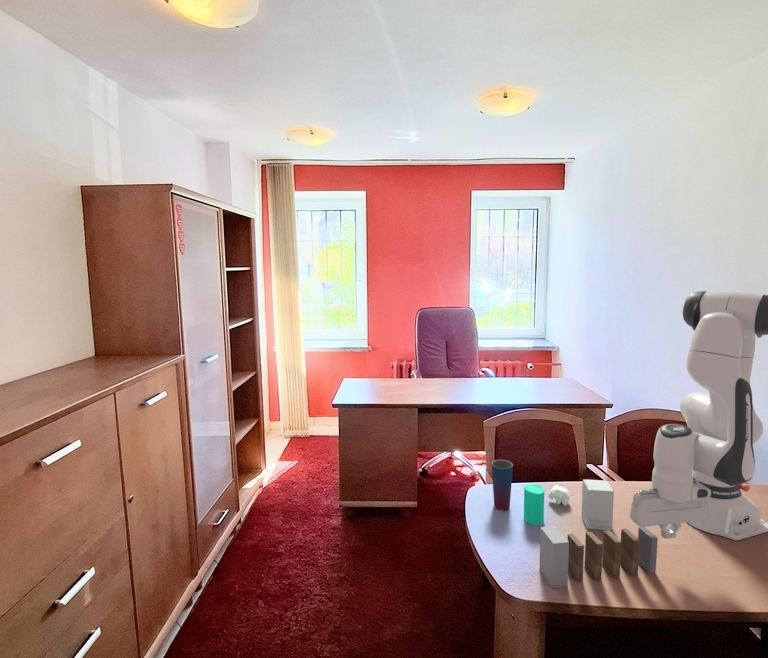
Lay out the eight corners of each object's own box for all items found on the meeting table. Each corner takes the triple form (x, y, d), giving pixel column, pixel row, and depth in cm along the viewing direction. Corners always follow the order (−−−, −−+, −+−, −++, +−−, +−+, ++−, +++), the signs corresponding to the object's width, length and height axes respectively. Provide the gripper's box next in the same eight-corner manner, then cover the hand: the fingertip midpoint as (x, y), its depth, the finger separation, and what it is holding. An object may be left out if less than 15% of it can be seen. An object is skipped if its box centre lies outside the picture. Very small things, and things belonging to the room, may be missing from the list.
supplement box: (612, 531, 134) (614, 491, 132) (586, 529, 135) (587, 489, 134) (605, 517, 141) (607, 480, 139) (580, 515, 142) (582, 478, 141)
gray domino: (642, 561, 120) (644, 526, 119) (655, 573, 115) (657, 537, 114) (636, 561, 120) (638, 527, 119) (649, 574, 115) (651, 538, 114)
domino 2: (590, 566, 118) (591, 531, 117) (601, 579, 114) (602, 543, 112) (584, 567, 118) (585, 532, 117) (595, 580, 113) (596, 544, 112)
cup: (496, 499, 154) (497, 457, 152) (515, 505, 150) (516, 462, 148) (487, 507, 149) (488, 464, 147) (507, 514, 144) (507, 470, 142)
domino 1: (572, 568, 118) (573, 533, 117) (582, 581, 113) (584, 545, 112) (566, 569, 118) (567, 534, 116) (576, 582, 113) (578, 546, 111)
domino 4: (625, 563, 120) (627, 528, 118) (637, 575, 115) (639, 539, 113) (619, 563, 119) (621, 529, 118) (632, 576, 114) (633, 540, 113)
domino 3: (607, 564, 119) (609, 530, 118) (619, 577, 114) (621, 541, 113) (602, 565, 119) (603, 530, 117) (613, 578, 114) (615, 542, 113)
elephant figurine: (548, 495, 155) (549, 479, 154) (573, 500, 152) (574, 484, 151) (546, 505, 149) (546, 488, 148) (572, 510, 146) (572, 493, 145)
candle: (524, 523, 139) (525, 487, 137) (523, 513, 145) (523, 478, 143) (544, 525, 137) (545, 489, 136) (542, 515, 143) (543, 480, 142)
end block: (553, 567, 118) (555, 525, 117) (567, 586, 112) (568, 542, 110) (539, 569, 118) (540, 527, 116) (552, 588, 111) (553, 543, 109)
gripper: (642, 497, 111) (639, 548, 113) (717, 490, 113) (713, 540, 115) (626, 484, 117) (623, 533, 119) (697, 478, 119) (693, 526, 121)
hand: (668, 537), depth 117 cm, fingers closed
